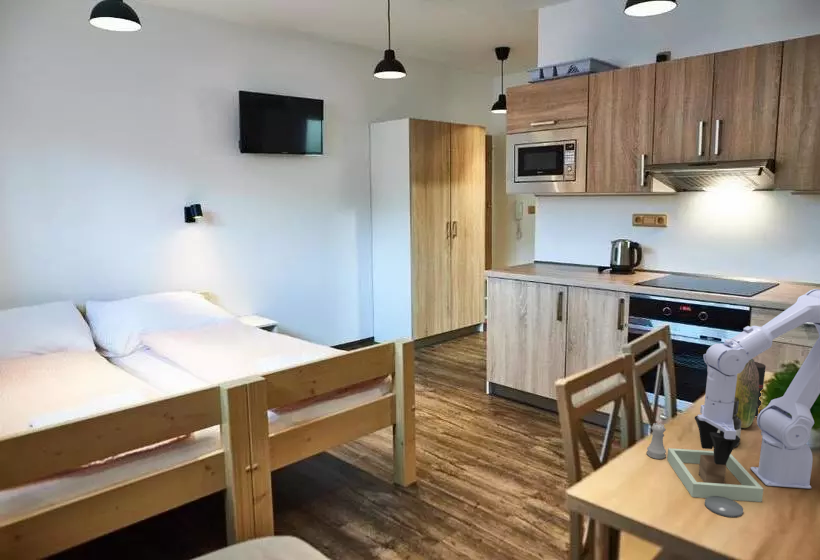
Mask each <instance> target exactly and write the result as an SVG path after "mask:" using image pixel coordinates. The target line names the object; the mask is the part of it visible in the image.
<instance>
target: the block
mask: <svg viewBox="0 0 820 560" xmlns="http://www.w3.org/2000/svg"><path fill="white" fill-rule="evenodd" d="M726 471H727V467H726V465H718V464H715V462H714V455H701V456H700V464H699V467H698V476H699V477H700V479H701V480H702V482H704V483H719V484H725V482H726V481H725V480H726V479H725V478H726Z"/></svg>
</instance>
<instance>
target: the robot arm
mask: <svg viewBox="0 0 820 560" xmlns="http://www.w3.org/2000/svg"><path fill="white" fill-rule="evenodd" d="M807 323H812V324H813V326H815V328H816V332H817V333H818V338H817V339H816V341H815V342H814V344H813V346H812V348H811V350H810V351H809V352H808V354H807V356H806V358H805V359H804V361H803V362H802V364H801V366H800V367H799V369H798V371H797V373H796V374H795V376H794V378H793V379H792V381H791V382H790V384H789V386H788V387H787V389H786V391H785V392H784V394H783V396H780V397H777V398H774V399H771V400H770V402H769V403H768V405H767V406H765V407H764V408H763V409H761V410H760V413H759V414H758V416H757V417H756V424H757V427H758V428H759V429H760V431H761V432H760V435H761V446H760V453H759V463H758V464H759V465H758V466H751V467H750V470H751V471H752V472H753V473H754V474H755V475H756V476H757V477H758V479H760V481H761V482H762V483H763V484H764V485H765V486H769V487H770V486H771V487H783V488H795V489H796V488H797V489H808V490H809V489H812V486H811V485H810V483H811V475H812V469H813V460H814V459H813V458H814V457H813V452H812V450H811V448H810V446H809V445H808V444H807V443H808V442H809V440H810V438H811V431H812V428H813V426H814V424H815V420H814V418H813V415H812V413H811V409H812V407H813V405H814V403H815V402H816V400H817V399H818V397H819V395H820V288H814V289H810V290H808V291H807V292H806V293H804V294H802V295H800V296H798V297H797V300H796V302H795V303H793V304H792V305H791V306H789V307H788V308H786V309H785V310H784V311H782V312H781V313H779V314H778V315H776V316H775V317H773V318H772V319H771V320H769V321H768V322H766V323H765V324H763V325H762V326H760V325H751V326H749V325H747V326H745V327H743V331H740V332H739V333H737V334H736V335H735V336H733V337H731V338H727V339H725V340H724V342H723V343H714V344H713V345H711V346H710V347H708V349H707V350H706V353H704V354H703V356H702V357H703V361H704V363H705V365H706V366H707V367H706V369H707V376H706V387H705V396H704V404H700V411H699V414H697V415H695V416H694V420H695V422H696V424H697V428H698V433H699V438H700V439H699V440H700V446H701V448H702V450H703V449H705V450H713V451H714V462H715V464H718V465H726V463H727V461H728V458H729V456H730V454H732V452H733V450H734V449H735V448H736V447H737V446H736V445H737V444H738V443H739V444H740V442H741V437H740V438H739V437H738V436H737V435H736V430H735V429H734V423H733V419H732V417H733V409H734V399H735V391H736V382H737V374H738V373H741V372H742V371H743V369H744V367H745V365H746V363H748V362H749V360H751V359H753V358H755V357H757V356H760V354H762V353H764V352H765V351H768V350H769V349H771V348H772V345H773V341H774V340H775V339H777V338H778V337H780V336H783V335H784V334H786V333H788V332H790V331H793V330H794V329H796V328H799V327H800V326H803V325H804V324H807ZM718 429H719V430H720V433H717V431H718ZM735 446H736V447H735Z"/></svg>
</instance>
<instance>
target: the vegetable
mask: <svg viewBox="0 0 820 560" xmlns="http://www.w3.org/2000/svg"><path fill="white" fill-rule="evenodd" d="M755 362H756V361H755V359H753V358H752V359H751V360H749V362H748V363H746V365H745V367H744V369H743V371H742V372H741V373H738V374H737V382H736V391H735V397H737V398H738V399H739V406H738V413H737V414H736V415H737V416H738V417H739V418H740V420H741V429H746V428H749V427H751V425H752V424H753V422H754V420H755V418H756V417H755V413H756V407H757V401H758V395H759V372H758V369H757V367H756V365H755Z"/></svg>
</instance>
